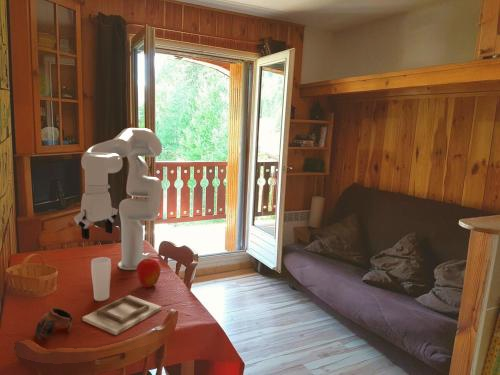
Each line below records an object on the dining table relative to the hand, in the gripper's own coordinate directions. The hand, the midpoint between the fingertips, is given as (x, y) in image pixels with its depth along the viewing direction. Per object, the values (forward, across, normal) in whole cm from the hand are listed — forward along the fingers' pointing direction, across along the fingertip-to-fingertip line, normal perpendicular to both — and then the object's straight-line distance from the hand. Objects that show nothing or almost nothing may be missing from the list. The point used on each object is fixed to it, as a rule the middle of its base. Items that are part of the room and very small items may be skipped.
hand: (97, 235), depth 134 cm
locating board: (+24, +3, +17) cm, 30 cm away
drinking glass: (+25, -1, +1) cm, 25 cm away
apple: (+25, -19, +6) cm, 32 cm away
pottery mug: (+25, +23, +9) cm, 35 cm away
